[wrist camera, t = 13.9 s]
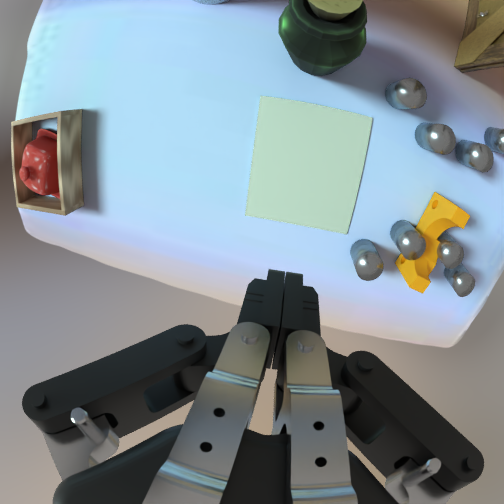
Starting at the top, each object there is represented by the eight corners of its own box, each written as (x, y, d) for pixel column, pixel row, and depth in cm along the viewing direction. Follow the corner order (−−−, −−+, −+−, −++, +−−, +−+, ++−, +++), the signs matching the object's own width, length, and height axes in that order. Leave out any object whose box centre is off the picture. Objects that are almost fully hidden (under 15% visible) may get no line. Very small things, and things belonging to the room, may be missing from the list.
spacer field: (387, 79, 26) (400, 73, 22) (501, 132, 24) (520, 137, 20) (347, 259, 38) (353, 278, 33) (455, 280, 36) (468, 298, 32)
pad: (260, 95, 30) (260, 95, 30) (372, 117, 29) (372, 117, 29) (245, 215, 37) (245, 215, 37) (346, 233, 36) (346, 234, 36)
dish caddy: (30, 118, 34) (11, 122, 30) (82, 109, 33) (61, 111, 29) (34, 198, 42) (17, 207, 37) (83, 205, 41) (65, 215, 36)
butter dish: (70, 201, 41) (38, 219, 34) (35, 180, 40) (4, 193, 33) (81, 141, 36) (44, 150, 28) (43, 125, 35) (9, 132, 27)
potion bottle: (270, 57, 27) (242, 0, 12) (307, 14, 24) (312, -63, 8) (324, 94, 29) (353, 66, 13) (361, 51, 25) (415, -2, 9)
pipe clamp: (415, 272, 37) (431, 297, 31) (394, 263, 36) (409, 287, 31) (454, 205, 31) (477, 221, 25) (434, 191, 31) (458, 206, 25)
